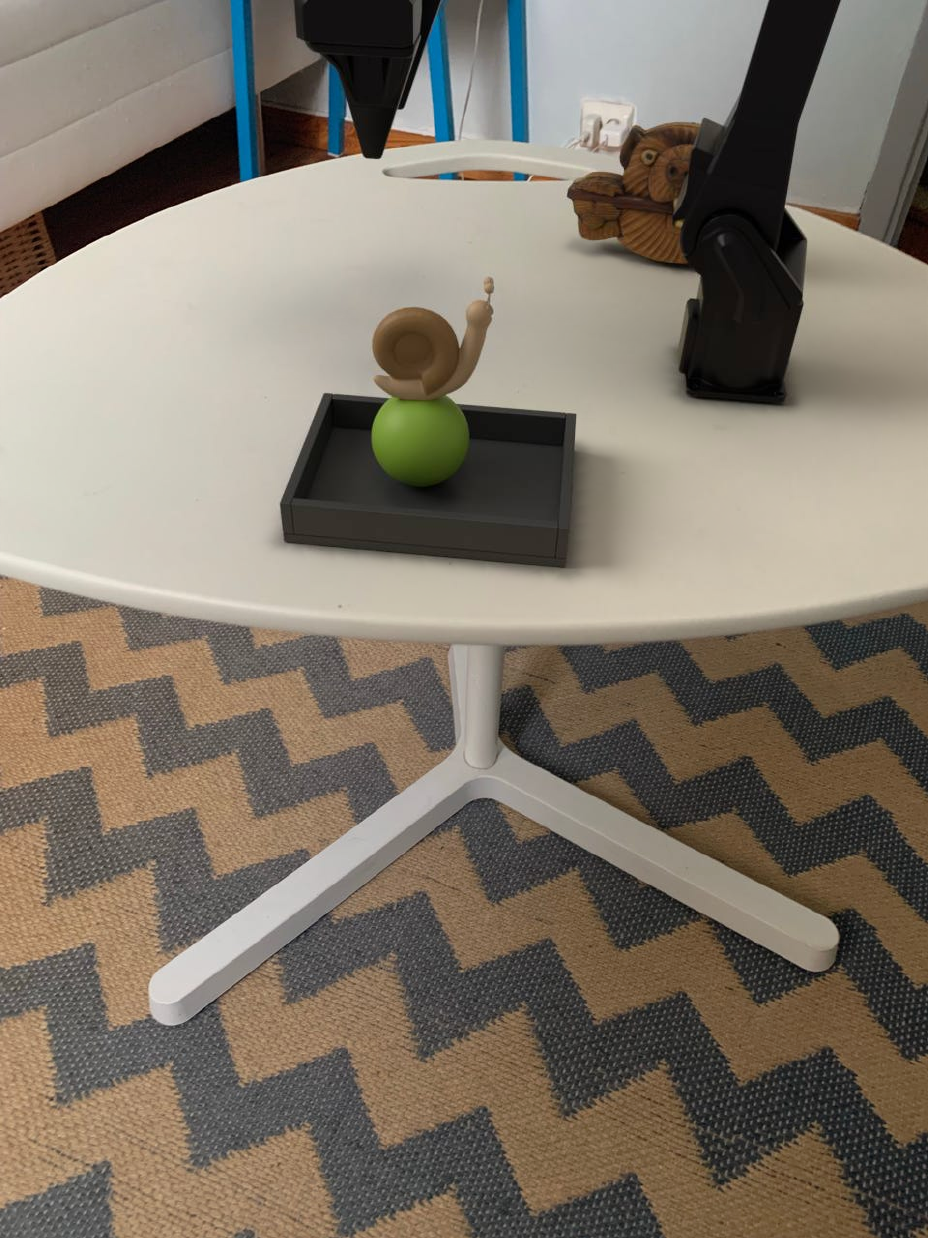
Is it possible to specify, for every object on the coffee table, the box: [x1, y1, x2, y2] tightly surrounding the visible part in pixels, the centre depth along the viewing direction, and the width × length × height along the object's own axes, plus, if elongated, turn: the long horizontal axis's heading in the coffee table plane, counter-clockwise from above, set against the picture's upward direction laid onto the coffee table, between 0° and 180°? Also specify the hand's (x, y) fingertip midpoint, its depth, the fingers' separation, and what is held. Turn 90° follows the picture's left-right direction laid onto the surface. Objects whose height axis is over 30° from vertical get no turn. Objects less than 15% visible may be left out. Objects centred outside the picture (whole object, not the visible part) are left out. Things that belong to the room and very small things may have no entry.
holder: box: [279, 392, 577, 568], centre depth 59 cm, size 15×11×3 cm
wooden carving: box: [566, 121, 701, 264], centre depth 81 cm, size 16×5×10 cm, turn 78°
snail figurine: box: [371, 276, 495, 487], centre depth 56 cm, size 5×6×12 cm
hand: (384, 131), depth 66 cm, fingers open, 9 cm apart
